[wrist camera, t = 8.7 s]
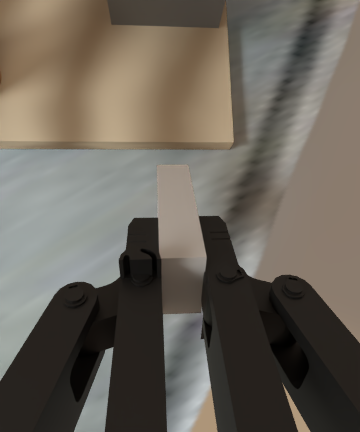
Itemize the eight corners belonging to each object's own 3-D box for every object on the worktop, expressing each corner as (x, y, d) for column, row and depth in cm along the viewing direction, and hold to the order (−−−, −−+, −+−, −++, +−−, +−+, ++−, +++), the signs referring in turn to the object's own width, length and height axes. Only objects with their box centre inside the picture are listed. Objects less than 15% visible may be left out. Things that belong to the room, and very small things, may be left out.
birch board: (-58, 148, 20) (-73, 139, 19) (-32, -104, 23) (-43, -125, 22) (229, 149, 21) (233, 141, 20) (217, -90, 25) (220, -109, 23)
